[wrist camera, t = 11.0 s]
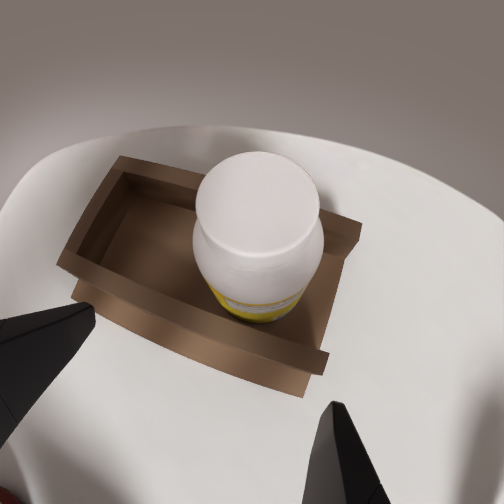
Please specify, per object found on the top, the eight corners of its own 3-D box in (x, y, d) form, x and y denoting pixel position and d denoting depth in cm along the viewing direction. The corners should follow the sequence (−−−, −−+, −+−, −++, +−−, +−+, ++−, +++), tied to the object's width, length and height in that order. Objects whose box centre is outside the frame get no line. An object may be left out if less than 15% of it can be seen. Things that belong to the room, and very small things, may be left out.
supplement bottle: (219, 241, 19) (191, 133, 10) (301, 246, 19) (336, 141, 10) (209, 322, 17) (159, 271, 8) (299, 329, 17) (349, 284, 8)
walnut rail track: (76, 300, 18) (46, 285, 15) (145, 170, 23) (131, 140, 19) (300, 396, 16) (312, 404, 13) (349, 229, 20) (365, 202, 17)
